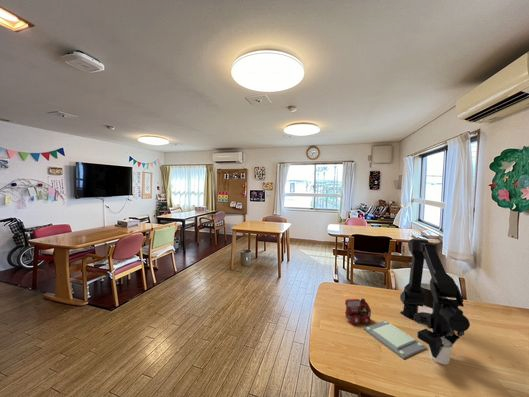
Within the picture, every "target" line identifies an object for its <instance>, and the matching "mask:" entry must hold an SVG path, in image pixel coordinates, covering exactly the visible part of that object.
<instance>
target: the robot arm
mask: <svg viewBox="0 0 529 397" xmlns="http://www.w3.org/2000/svg"><path fill="white" fill-rule="evenodd" d="M407 247H408V251H409V253H410V254H411V263H410V269H409V270H410V271H409V280H408V284H406V285H405V286H404V287H403V288H404V289H403V291H402V292H401V293H400V298H399V299H400V302H401V303H402V305H403V310H402V311H400V314H402V315H403V316H405V317H407V318H409V319H410V320H413V321H414V322H416V323H417V324H420V325H421V324H422V325H426V327H427V328H428V329H427V328H424V329H421V330H418V331H417V335H416V336H417V338H418V339H419V340H420V341H422V342H423V343H425V344H427V345H428V346H429V347H430V348H429V351H430V350H431V353H432V356H433V357H434V358H436V357H437V356H438V354H439V353H440V351H441V349H442V348H443V346H444V345H443V344H442V339H441V338H442V337H444V338H446V339H448V340H449V341H450V342H451V343H452V345H454V344H456V342H457V341H458V340H459V339H460V338H461V337H462V336H465V331H468V330H469V328H470V326H471V323H470V321H469V318H467V317H466V316H465V315H464V311H463V310H462V309H460V308H459V307H464V306H465V305H464V298H463V296H462V293H461V291H460V288H459V285H457V283H456V281H455V280H454V278H453V277H451V276H450V275H449V274H447V272H446V270H445V267H444V265H443V262H442V260H441V258H440V256H439V254H438V252H437V244H434V242H430V241H429V240H428V239H420V238H411V239H409V240H408V242H407ZM424 263H426V266H427V268H428V270H429V274H430V277H431V278H430V280H429V284H430V289H431V292H432V296H433V297H434V299H433V308H432V313H429V312H422V311H421V312H419V307H424V301H425V297H424V296H425V295H424V293H423V291H422V289H421V283H422V279H423V272H424ZM429 329H432V330H429ZM456 332H457V334H456Z"/></svg>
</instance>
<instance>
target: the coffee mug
mask: <svg viewBox="0 0 529 397" xmlns="http://www.w3.org/2000/svg"><path fill="white" fill-rule="evenodd" d="M421 289H422V291H423V293H424V295H425V296H424V297H425V301H424V305H423V307H427V308H430V309H431V308H432V309H433V299H434V297H433V296H432V292H431V289H430V283H425V282H421Z"/></svg>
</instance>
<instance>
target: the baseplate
mask: <svg viewBox="0 0 529 397" xmlns="http://www.w3.org/2000/svg"><path fill="white" fill-rule="evenodd" d="M363 331H365V332H366V333H367V334H369V335H370V336H371V337H373V339H376V341H378V342H380V343H381V344H382V345H384V346H385V347H386V348H388V349H389V350H390V351H391V352H393V353H394V354H395V355H397V356H399V358H401V359H402V360H405V359H407V358H409V357H411V356H413V355H416V354H418V353H419V352H422V351H424V350H427V345H425V344H424V343H422V342H421V341H418V340H417V339H415V338H414V337H413V336H411V335H409V334H408V333H406V332H404V331H403V330H401V329H399V328H398V327H396V326H394V325H393V324H391V323H390V322H389V321H387V320H383V321H380V322H377V323H376V322H375V323H373V324H371V325H368V326H367V325H366V326H364V327H363Z"/></svg>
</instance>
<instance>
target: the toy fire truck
mask: <svg viewBox="0 0 529 397" xmlns="http://www.w3.org/2000/svg"><path fill="white" fill-rule="evenodd" d="M344 302H345V317H346V318H347V319H348V320H349V319H350V322H351V324H353V325H354V326H357V325H359V324H360V322H362V323H363V325H366V326H367V325H369V324H371V319H372V318H371V315H372V314H371V313H372V311H371V308H370V305H369V303H368V302H367V301H366V299H365V298H361V299H360V298H352V299H351V298H349V299H346V300H345V301H344Z"/></svg>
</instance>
